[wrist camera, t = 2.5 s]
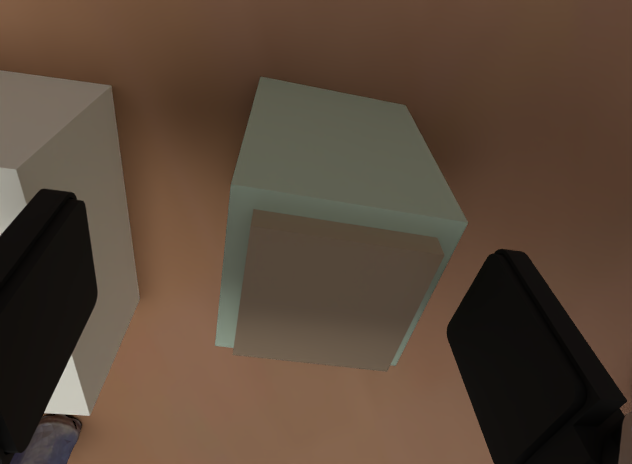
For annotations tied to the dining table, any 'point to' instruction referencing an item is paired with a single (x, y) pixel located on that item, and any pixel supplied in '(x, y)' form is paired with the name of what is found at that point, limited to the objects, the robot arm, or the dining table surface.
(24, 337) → the robot arm
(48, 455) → the flask
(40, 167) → the cream box
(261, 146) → the open sage green box
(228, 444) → the dining table surface
